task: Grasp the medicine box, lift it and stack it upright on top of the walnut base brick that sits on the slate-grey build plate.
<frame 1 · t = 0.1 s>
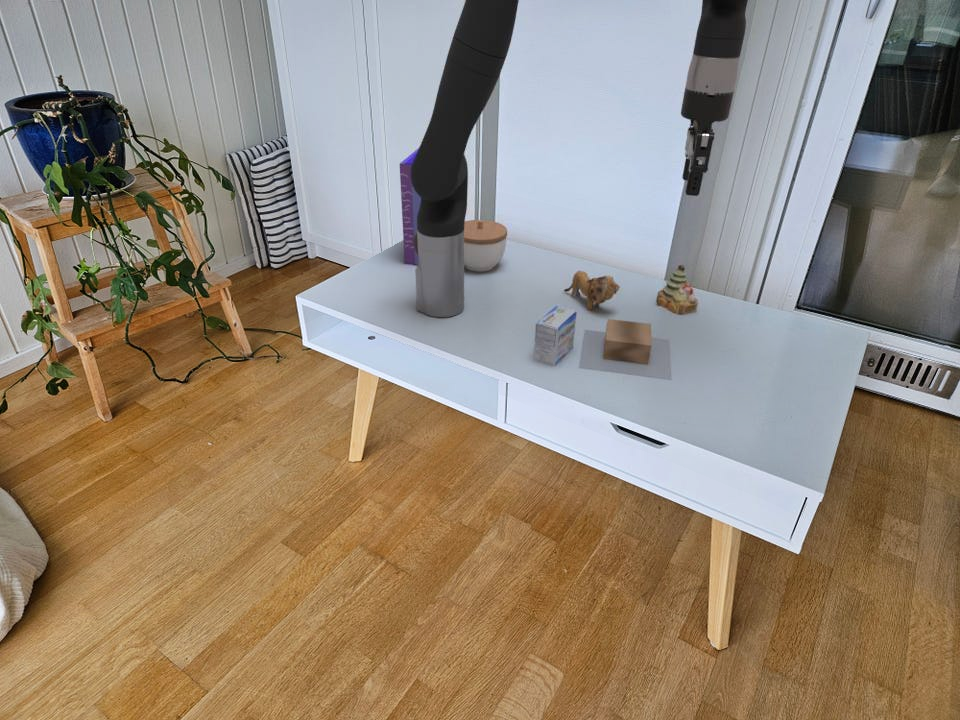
hand: (690, 187, 110), 29 cm above the table, fingers open, 8 cm apart
medicine box: (552, 358, 118), on the table
build plate: (624, 357, 118), on the table
lion figurine: (588, 307, 135), on the table
ornament: (675, 311, 134), on the table
base brick: (625, 350, 118), point 1 cm above the table, touching build plate
cereal box: (424, 252, 158), on the table
lidded bowl: (479, 266, 152), on the table
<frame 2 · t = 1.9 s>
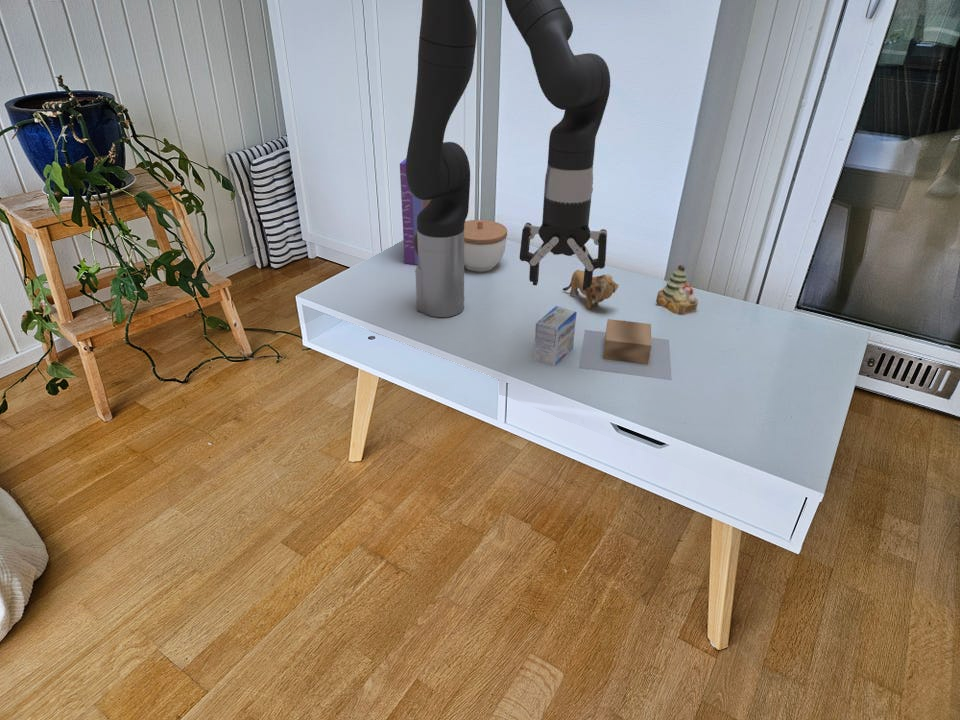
hand: (560, 286, 109), 15 cm above the table, fingers open, 8 cm apart
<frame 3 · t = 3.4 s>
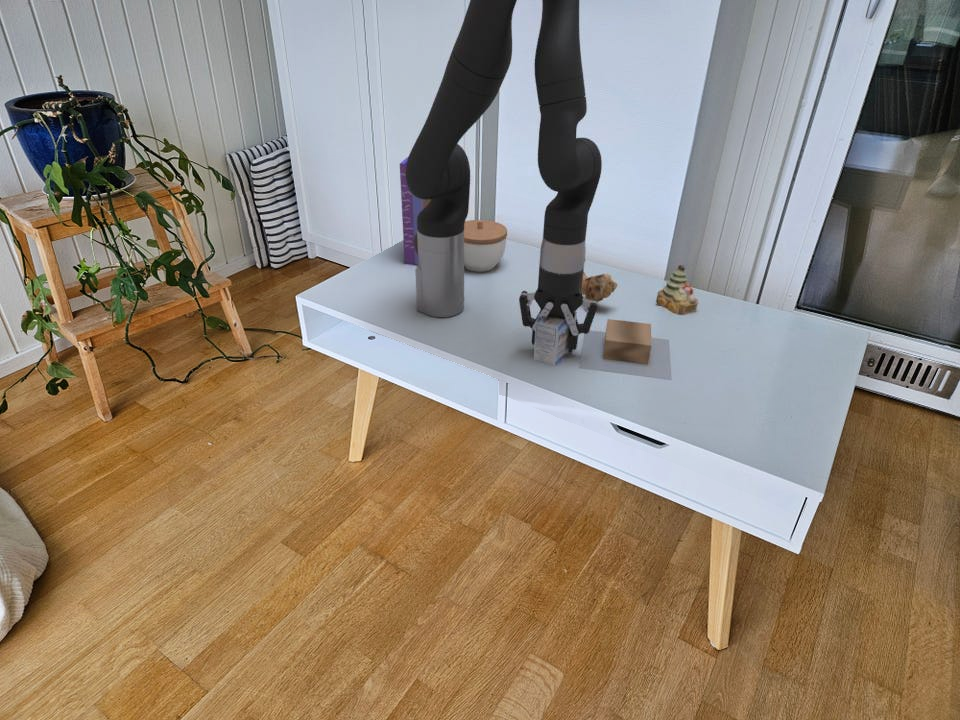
hand: (554, 347, 116), 2 cm above the table, fingers closed on medicine box, 5 cm apart
medicine box: (552, 358, 117), on the table, touching gripper
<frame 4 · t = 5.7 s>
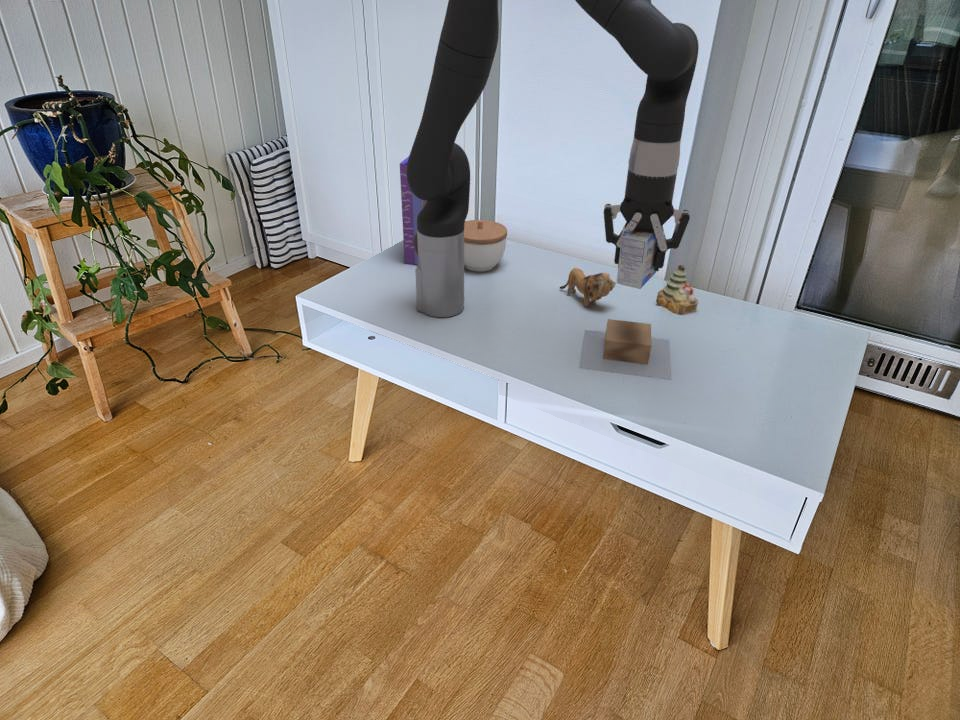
hand: (638, 267, 108), 18 cm above the table, fingers closed on medicine box, 5 cm apart
medicine box: (635, 279, 110), point 16 cm above the table, touching gripper
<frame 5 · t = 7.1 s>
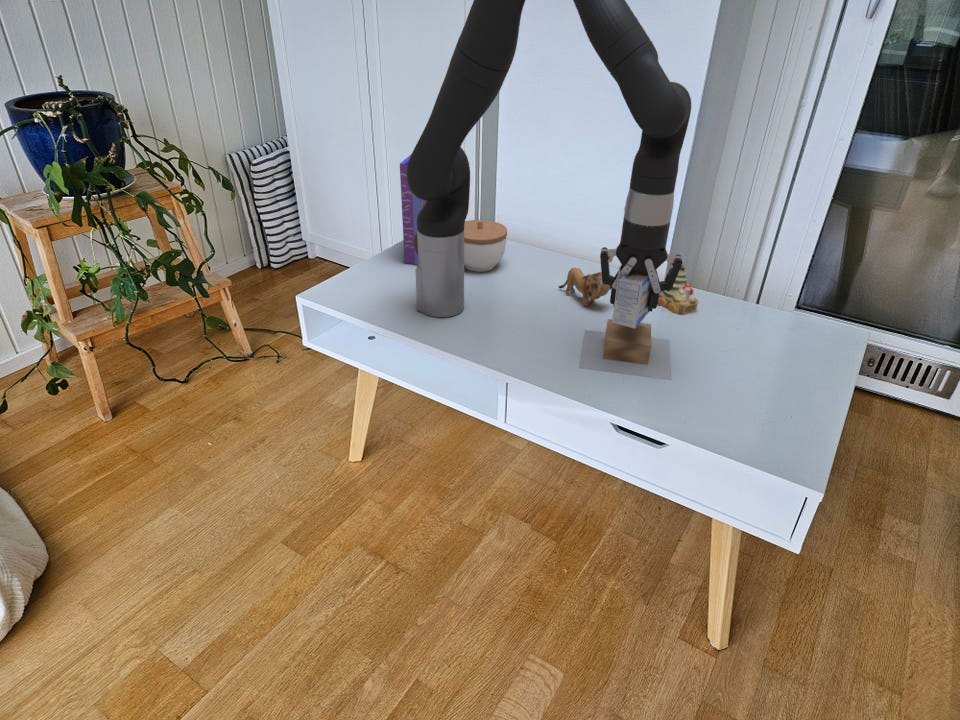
hand: (632, 307, 113), 10 cm above the table, fingers closed on medicine box, 5 cm apart
medicine box: (630, 318, 114), point 8 cm above the table, touching gripper
when the fingers open (8 cm above the table, at t = 8.1 s): medicine box stays where it is, resting on base brick.
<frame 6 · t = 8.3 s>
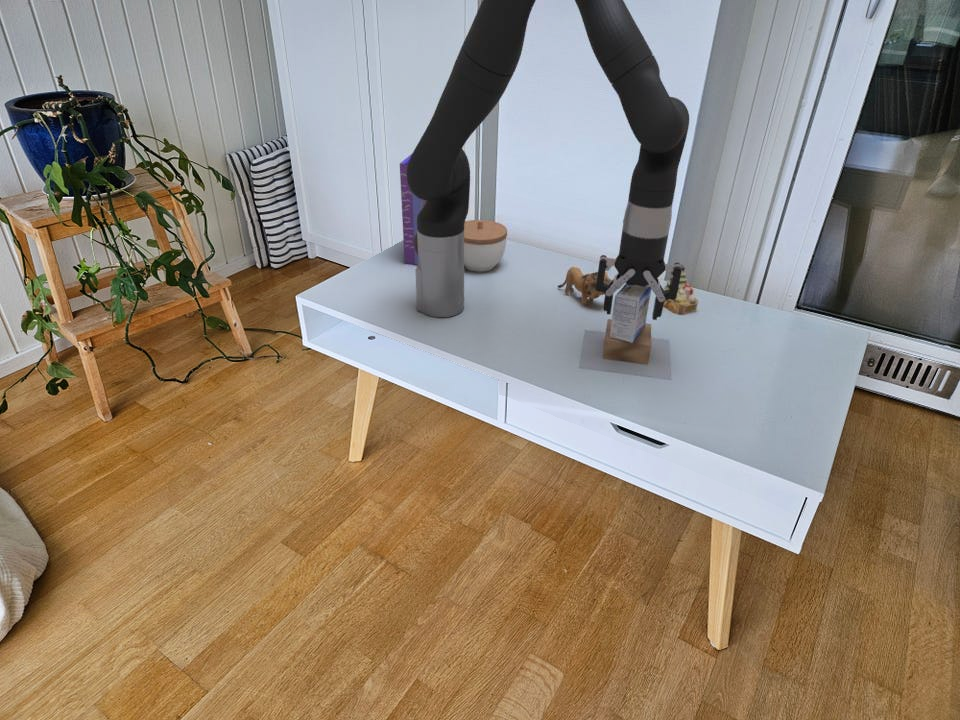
hand: (631, 315, 114), 8 cm above the table, fingers open, 7 cm apart
medicine box: (627, 332, 116), point 5 cm above the table, touching base brick
base brick: (625, 350, 118), point 1 cm above the table, touching build plate, medicine box
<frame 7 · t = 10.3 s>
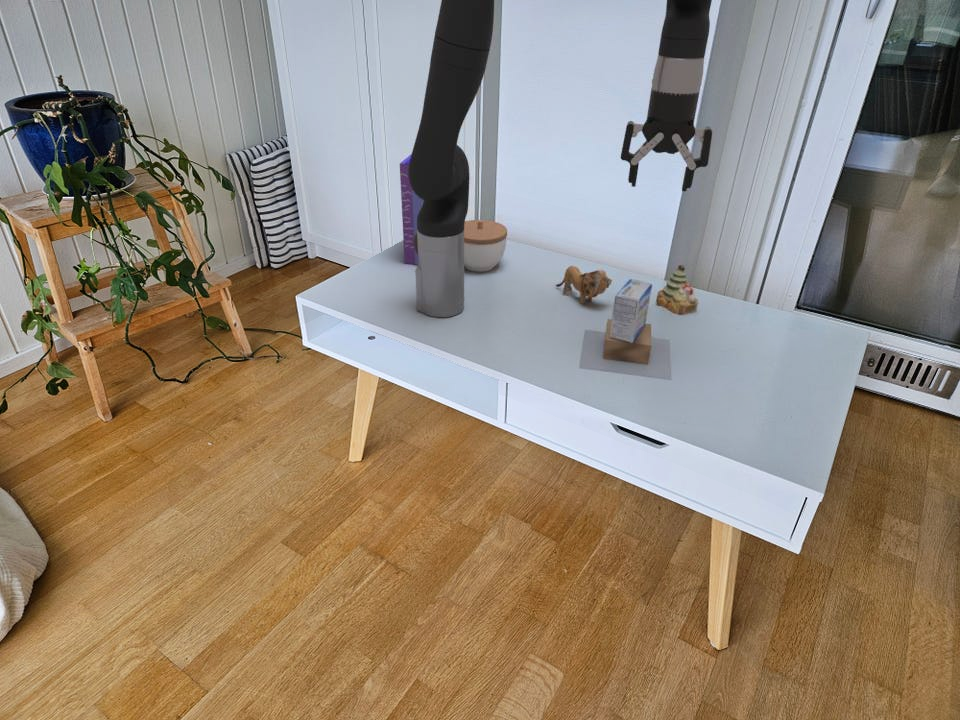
hand: (658, 187, 110), 29 cm above the table, fingers open, 8 cm apart
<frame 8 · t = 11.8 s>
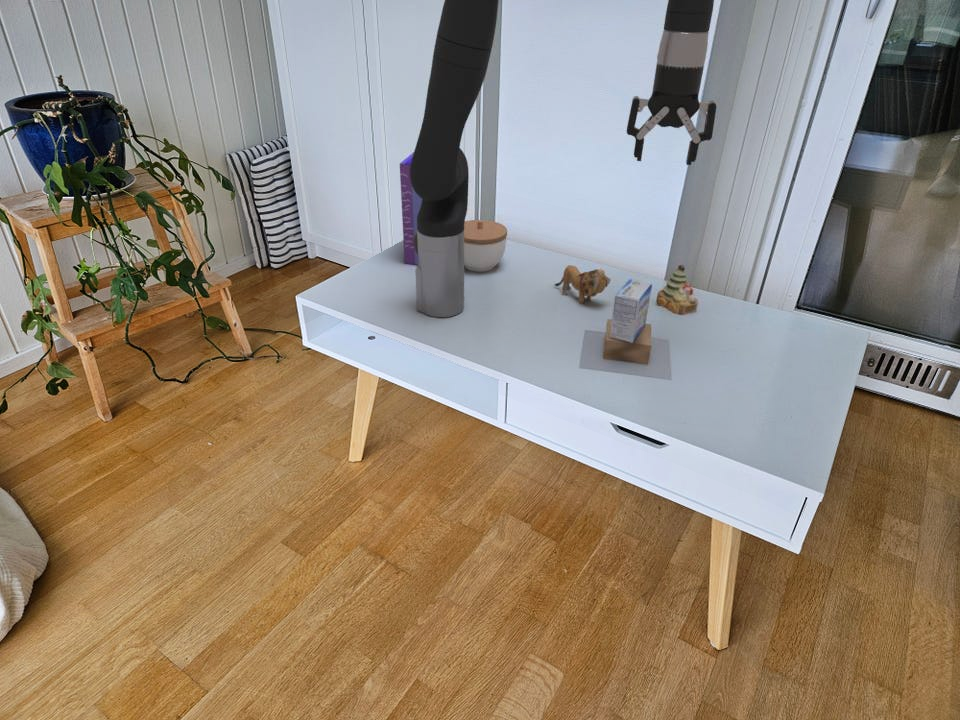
hand: (663, 162, 112), 32 cm above the table, fingers open, 8 cm apart
at the end: medicine box inside the target area on the base brick (0.3 cm from its centre), point 3.8 cm above the base brick's base; medicine box tilted 0°; the gripper is holding nothing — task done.
